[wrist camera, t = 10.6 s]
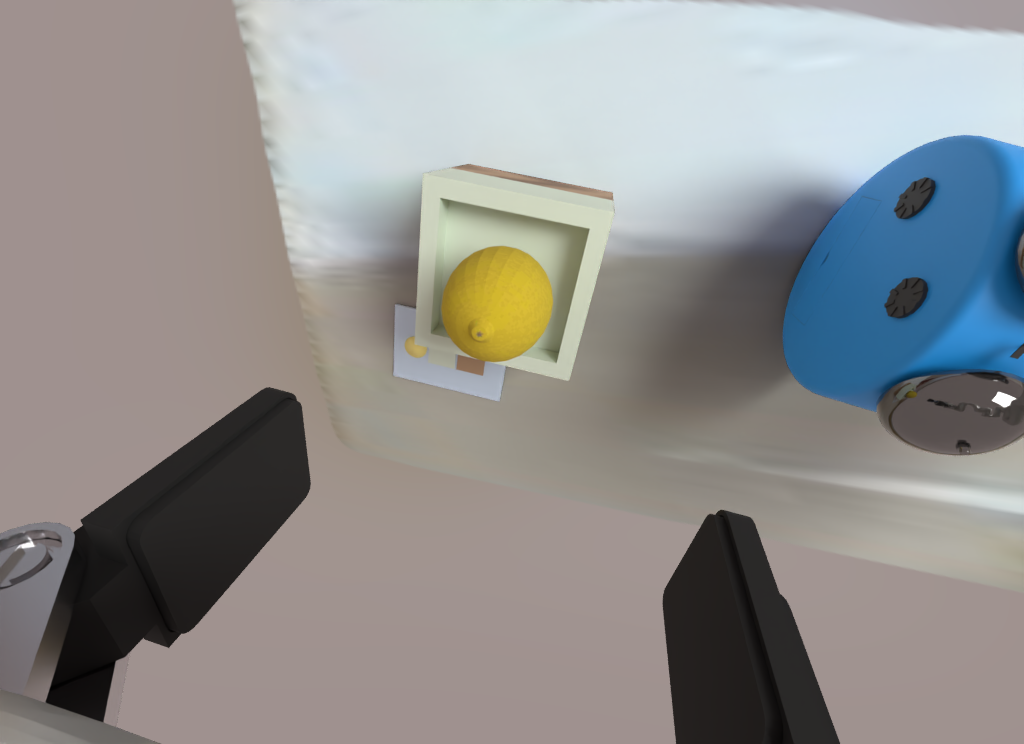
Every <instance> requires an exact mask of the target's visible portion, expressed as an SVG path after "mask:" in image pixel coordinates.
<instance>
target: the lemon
mask: <svg viewBox="0 0 1024 744" xmlns="http://www.w3.org/2000/svg"><path fill="white" fill-rule="evenodd" d="M552 306H553V295H552V287H551V284H550V281H549V279H548V276H547V274H546V272H545V271H544V269H543V268H542V267H541V265H540V264H539V262H538V261H536V260H535V259H534V258H533V257H532V256H530V255H529V254H528V253H525V252H523V251H521V250H519V249H517V248H512V247H507V246H492V247H487V248H484V249H482V250H479V251H476V252H474V253H473V254H471V255H470V256H468V257H467V258H465V259H464V260H463V261H462V262H461V263H460V264H459V265H458V266H457V268H456V269H455V270H454V271H453V272H452V274H451V275H450V277H449V280H448V282H447V284H446V287H445V289H444V292H443V299H442V306H441V310H442V319H443V324H444V326H445V329H446V332H447V334H448V335H449V337H450V338H451V340H452V341H453V343H454V344H455V345H456V346H457V347H458V348H459V349H460V350H461V351H462V352H464V353H466V354H467V355H469V356H471V357H473V358H476V359H478V360H481V361H487V362H502V361H508V360H510V359H513V358H515V357H518V356H520V355H522V354H523V353H524V352H526V351H527V350H529V349H530V348H531V347H532V346H534V344H535V343H536V342H537V341H538V340H539V338H540V337H541V336H542V335H543V333H544V332H545V330H546V327H547V325H548V323H549V320H550V318H551V313H552Z"/></svg>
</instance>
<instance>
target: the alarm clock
mask: <svg viewBox="0 0 1024 744" xmlns="http://www.w3.org/2000/svg"><path fill="white" fill-rule="evenodd" d="M783 349H784V355H785V359H786V362H787V365H788V367H789V369H790V371H791V373H792V374H793V376H794V377H795V379H796V380H797V381H798V382H799V383H800V384H801V385H802V386H803V387H805V388H806V389H808V390H810V391H811V392H813V393H815V394H818V395H821V396H824V397H827V398H831V399H834V400H837V401H841V402H844V403H847V404H851V405H854V406H857V407H861V408H864V409H867V410H871V411H874V412H877V415H878V417H879V420H880V422H881V424H882V426H883V427H884V428H885V429H886V431H887V432H888V433H889V434H890V435H891V436H893V437H894V438H895V439H897V440H898V441H900V442H902V443H903V444H905V445H908V446H910V447H912V448H915V449H917V450H920V451H924V452H928V453H933V454H939V455H946V456H972V455H980V454H986V453H990V452H994V451H997V450H1000V449H1003V448H1005V447H1008V446H1011V445H1012V444H1014V443H1016V442H1018V441H1019V440H1021V439H1022V438H1024V148H1023V147H1020V146H1016V145H1012V144H1008V143H1005V142H1001V141H997V140H994V139H990V138H986V137H982V136H972V135H961V136H952V137H947V138H943V139H940V140H936V141H933V142H930V143H927V144H925V145H922V146H920V147H918V148H916V149H914V150H912V151H910V152H908V153H906V154H904V155H903V156H901V157H899V158H898V159H896V160H894V161H893V162H891V163H890V164H889V165H887V166H886V167H884V168H883V169H882V170H880V171H879V172H878V173H877V174H875V175H874V176H873V177H872V178H871V179H869V180H868V181H867V182H866V183H865V184H864V185H863V186H861V187H860V188H859V189H858V190H857V191H856V192H855V193H854V194H853V195H852V196H851V197H850V198H849V199H848V200H847V201H846V203H845V204H844V205H843V206H842V207H841V208H840V209H839V211H838V212H837V213H836V214H835V215H834V217H833V218H832V219H831V220H830V222H829V223H828V224H827V226H826V227H825V228H824V230H823V231H822V233H821V234H820V236H819V237H818V239H817V240H816V242H815V243H814V245H813V247H812V248H811V250H810V252H809V253H808V255H807V257H806V259H805V261H804V263H803V265H802V267H801V269H800V271H799V273H798V275H797V278H796V280H795V282H794V285H793V288H792V291H791V293H790V297H789V300H788V304H787V308H786V312H785V317H784V325H783Z"/></svg>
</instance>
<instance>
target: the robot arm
mask: <svg viewBox="0 0 1024 744" xmlns="http://www.w3.org/2000/svg"><path fill="white" fill-rule="evenodd" d="M310 484H311V483H310V474H309V466H308V457H307V449H306V440H305V431H304V423H303V414H302V406H301V404H300V403H299V402H298V401H297V399H296V396H295V395H294V394H292V393H289V392H285V391H281V390H278V389H274V388H270V387H269V388H265V389H263V390H261V391H260V392H258V393H257V394H255V395H254V396H253V397H251V398H250V399H249V400H247V401H246V402H244V403H243V404H242V405H240V406H239V407H237V408H236V409H235V410H233V411H232V412H230V413H229V414H228V415H226V416H225V417H224V418H222V419H221V420H219V421H218V422H216V423H215V424H214V425H212V426H211V427H210V428H208V429H207V430H205V431H204V432H202V433H201V434H200V435H198V436H197V437H196V438H194V439H193V440H191V441H190V442H189V443H187V444H186V445H184V446H183V447H182V448H180V449H179V450H178V451H176V452H175V453H173V454H172V455H171V456H169V457H168V458H166V459H165V460H163V461H162V462H161V463H159V464H158V465H157V466H155V467H154V468H152V469H151V470H150V471H148V472H147V473H145V474H144V475H143V476H141V477H140V478H139V479H137V480H136V481H134V482H133V483H131V484H130V485H129V486H127V487H126V488H124V489H123V490H122V491H120V492H119V493H117V494H116V495H115V496H113V497H112V498H111V499H109V500H108V501H106V502H105V503H104V504H102V505H101V506H99V507H98V508H97V509H95V510H94V511H93V512H91V513H90V514H88V515H87V516H85V517H84V518H83V519H81V522H82V524H83V526H82V527H80V528H79V529H77V530H76V531H75V532H72V530H71V529H70V528H69V527H67V526H65V525H63V524H60V523H51V522H43V523H34V524H28V525H24V526H21V527H17V528H14V529H10V530H8V531H5V532H3V533H1V534H0V744H160V743H157V742H155V741H152V740H149V739H146V738H144V737H141V736H138V735H136V734H133V733H130V732H128V731H125V730H122V729H119V728H117V727H116V725H117V720H118V715H119V709H120V704H121V699H122V693H123V688H124V683H125V677H126V672H127V666H128V661H129V656H130V651H131V650H132V649H133V648H134V647H135V646H136V645H137V644H138V643H139V642H140V641H141V640H142V639H143V638H144V639H145V640H148V641H151V642H154V643H157V644H160V645H162V646H165V647H168V648H169V647H170V646H171V645H172V643H173V642H174V641H175V640H176V639H177V638H178V637H179V636H180V634H181V633H182V634H184V633H187V632H189V631H190V630H191V629H193V628H194V627H195V626H196V625H197V624H198V623H199V621H200V620H201V619H202V618H203V616H205V614H206V613H207V612H208V611H209V610H210V609H211V607H212V606H213V605H214V604H215V603H216V602H217V600H218V599H219V598H220V597H221V596H222V595H223V594H224V592H225V591H226V590H227V589H228V588H229V587H230V585H231V584H232V583H233V582H234V581H235V579H236V578H237V577H238V576H239V575H240V574H241V573H242V571H243V570H244V569H245V568H246V567H247V566H248V564H249V563H250V562H251V561H252V560H253V559H254V557H255V556H256V555H257V554H258V552H260V550H261V549H262V548H263V547H264V546H265V544H266V543H267V542H268V541H269V540H270V539H271V538H272V536H273V535H274V534H275V533H276V532H277V531H278V529H279V528H280V527H281V526H282V525H283V524H284V522H285V521H286V520H287V519H288V518H289V517H290V515H291V514H292V513H293V512H294V511H295V510H296V508H297V507H298V506H299V505H300V504H301V502H302V501H303V500H304V499H305V498H306V496H307V494H308V492H309V490H310ZM663 613H664V624H665V634H666V644H667V654H668V665H669V674H670V685H671V694H672V705H673V716H674V726H675V736H676V744H840V742H839V739H838V737H837V734H836V731H835V729H834V726H833V723H832V720H831V718H830V715H829V712H828V709H827V707H826V704H825V701H824V698H823V696H822V693H821V691H820V688H819V685H818V682H817V679H816V677H815V674H814V671H813V668H812V666H811V663H810V660H809V658H808V655H807V652H806V649H805V647H804V644H803V641H802V639H801V636H800V633H799V630H798V627H797V625H796V622H795V619H794V617H793V614H792V611H791V609H790V607H789V605H788V603H787V601H786V599H785V598H784V597H783V596H782V595H781V594H780V593H779V591H778V588H777V585H776V582H775V579H774V577H773V574H772V571H771V568H770V566H769V562H768V560H767V557H766V554H765V551H764V549H763V546H762V543H761V540H760V537H759V534H758V531H757V529H756V526H755V523H754V521H753V520H752V519H751V518H750V517H747V516H743V515H740V514H736V513H732V512H729V511H725V510H720V511H718V512H717V513H716V515H713V514H709V515H708V516H707V517H706V519H705V520H704V522H703V524H702V525H701V527H700V529H699V531H698V532H697V534H696V536H695V538H694V539H693V541H692V543H691V544H690V546H689V548H688V550H687V551H686V553H685V555H684V557H683V558H682V560H681V562H680V563H679V565H678V567H677V569H676V570H675V572H674V574H673V576H672V577H671V579H670V581H669V583H668V584H667V586H666V588H665V590H664V594H663Z"/></svg>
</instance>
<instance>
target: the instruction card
mask: <svg viewBox="0 0 1024 744" xmlns="http://www.w3.org/2000/svg"><path fill="white" fill-rule="evenodd" d="M415 324H416V308H413V307H408V306H404V305H400V304H395V328H394V374H393V376H397V377H401V378H405V379H409V380H413V381H417V382H421V383H425V384H429V385H433V386H437V387H441V388H446V389H450V390H454V391H458V392H462V393H466V394H470V395H474V396H478V397H482V398H486V399H490V400H494V401H498V402H499V401H500V397H501V391H502V386H503V380H504V374H505V369H506V366H503V365H499V364H495V363H491V362H487V361H481V360H478V359H474V358H470V357H466V356H461V355H457V354H453V353H449V352H445V351H441V350H436V349H432V348H428V347H424V346H420V345H415Z"/></svg>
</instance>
